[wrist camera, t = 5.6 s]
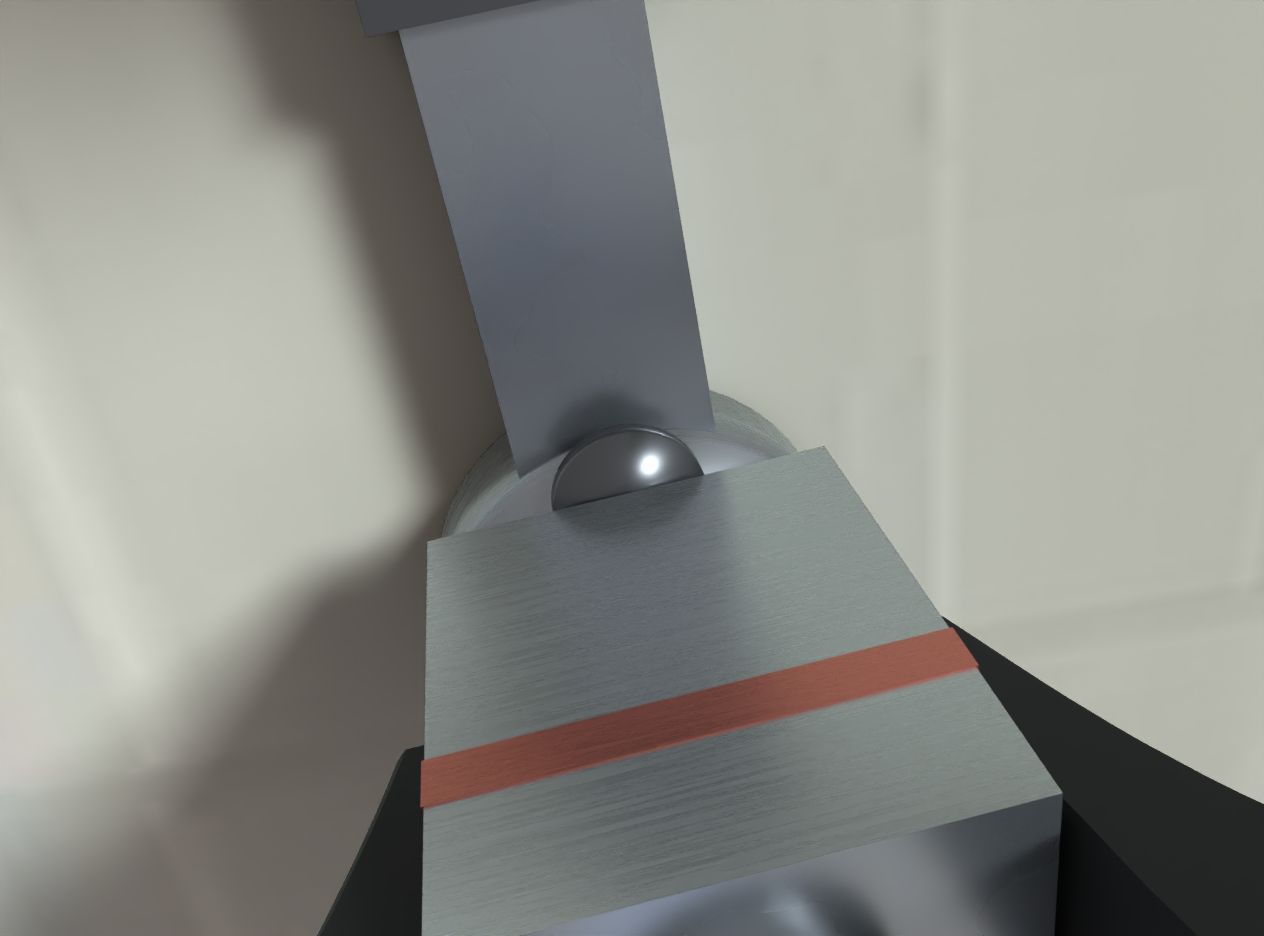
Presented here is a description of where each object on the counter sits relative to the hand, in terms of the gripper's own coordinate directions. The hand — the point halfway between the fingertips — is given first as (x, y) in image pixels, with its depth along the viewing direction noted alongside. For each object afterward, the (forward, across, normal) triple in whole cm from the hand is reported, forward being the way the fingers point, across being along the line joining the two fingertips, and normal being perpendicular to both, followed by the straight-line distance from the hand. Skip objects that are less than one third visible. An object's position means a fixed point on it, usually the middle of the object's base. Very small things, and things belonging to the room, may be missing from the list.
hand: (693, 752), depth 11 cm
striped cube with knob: (+2, 0, 0) cm, 2 cm away
